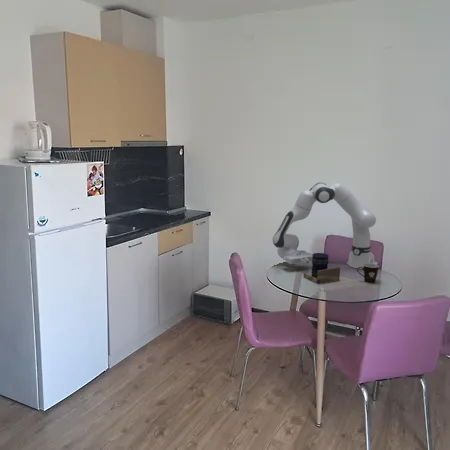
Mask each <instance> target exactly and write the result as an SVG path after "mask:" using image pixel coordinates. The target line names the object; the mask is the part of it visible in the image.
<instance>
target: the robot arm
mask: <svg viewBox="0 0 450 450" xmlns="http://www.w3.org/2000/svg"><path fill="white" fill-rule="evenodd" d="M333 200H334V201H335V202H336V203H337V204H338V205H339V206H340V207H341V209H342V210H343V211H345V213H347V214H348V216H350V219H351V227H352V245H351V251H350V252H349V254H348V261H346V264H347V265H348V266H349V267H350V268H354V269H357V268H359V267H363V268H364V264H376V265H379V264H378V262H377V261H376V260H375V255H374V254H373V253H372V251H371V249H373V246H372V245H371V233H370V228H372V227H374V226H375V225H376V221H377V218H376V216H375V214H374V213H373V212H372V211H371V210H370V209H369V208H368V207H367V206H365V204H364V203H362V202H361V201H360V200H359V199H358V198H357V197H356V196H355V194H354V193H352V192H351V191H350V190H349V188H348V187H346V186H345V185H343V184H342V183H341V182H335V183H333V184H332V185H330V186H328V185H327V184H326V183H324V182H317V183H315V184H314V185H313V186H312V187H311V188H310V189H308V190H307V189H304V190H302V191H301V192H300V194H299V195H298V197H297V199H296V201H295V204H294V206H293V207H292V209H291V210H290V211H288V212H287V214H286V215H285V216H284V218H283V220H282V222H281V223H280V225H279V227H278V228H277V231H276V232H275V234H274V235H273V236H272V244H273V246H274V247H276V248H277V255H278V256H279V257H280V258H281V259H282V260H284V261H285V263H287V264H289V265H293V264H294V265H295V264H300V263H301V264H309V263H310V262H312V257H313V256H312V255H313V254H314V253H310V252H307V250H298V248H299V244H300V241H299V237H298V236H297V235H296V234H294V233H293V234H292V233H287V232H288V231H289V228H290V226H292V224H293V223H295V222H298V221H302V220H304V219H306V218H308V217H309V215H310V214H311V211H312V208H313V205H314V204H315V203H316V202H317V203H320V204H326V203H328V202H330V201H333ZM360 269H361V270H363V269H362V268H359V269H358V270H360Z"/></svg>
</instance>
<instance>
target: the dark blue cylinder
mask: <svg viewBox="0 0 450 450" xmlns="http://www.w3.org/2000/svg"><path fill="white" fill-rule="evenodd" d="M312 254H313V255H312V256H313V257H312V261H311V264H312V265H311V266H312V268H311V276H313V277H315V278H317V271H318V270H324V269H328V266H329V265H328V264H329V256H330V255H329V254H327V253H323V252H316V253H315V252H314V253H312Z"/></svg>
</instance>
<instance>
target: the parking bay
mask: <svg viewBox="0 0 450 450" xmlns="http://www.w3.org/2000/svg"><path fill="white" fill-rule="evenodd" d="M340 275H341V267H339V266H338V267H330V268H327V269H324V270H318V271H317V278H315V277H313V276H312V275H310V274H308V273H307V272H306V273H303V279H304V278H305V279H306V280H308V281H311V282H313V283H315V284H317V285H321V284H325V282H327V283H331V281H332V282H336V281H335V280H338V281H340V278H341V276H340ZM320 283H321V284H320Z"/></svg>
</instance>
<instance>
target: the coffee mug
mask: <svg viewBox="0 0 450 450" xmlns="http://www.w3.org/2000/svg"><path fill="white" fill-rule="evenodd" d="M379 267H380V266H379V264H377V265H376V264H364V268H363V267H359V268H362V269H361V270H363V274H362V273H361V272H360V271H359V270H360V269H359V268H356V271H357V272H358V274H359V275H360V276H362V277H363V278H364V280H363V281H364V282H365V283H368V284H374V283H376V281H377V276H378V273H379V272H378V271H379Z"/></svg>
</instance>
